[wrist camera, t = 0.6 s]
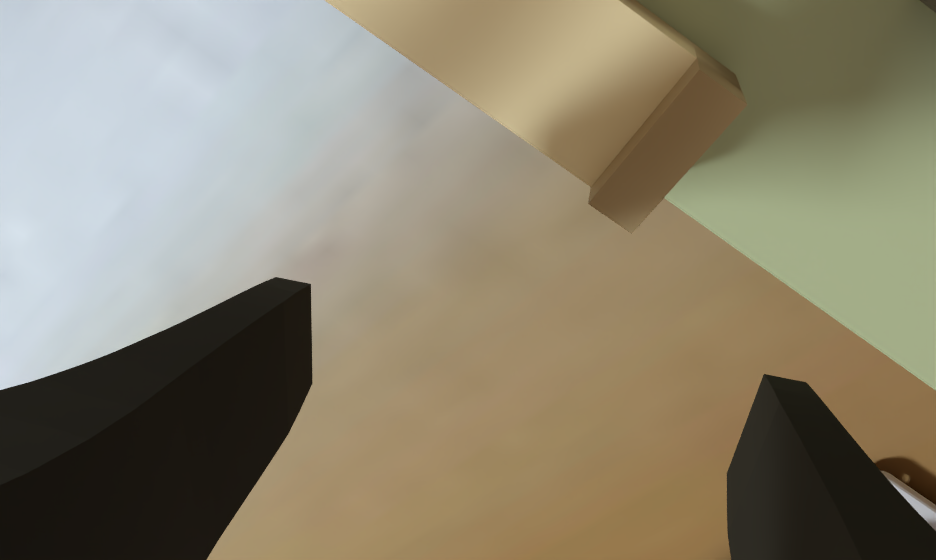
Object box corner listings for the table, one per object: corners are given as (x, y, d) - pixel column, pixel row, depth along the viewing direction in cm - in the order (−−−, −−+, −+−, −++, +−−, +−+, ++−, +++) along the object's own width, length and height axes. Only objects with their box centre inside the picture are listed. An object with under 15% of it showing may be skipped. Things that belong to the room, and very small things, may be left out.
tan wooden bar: (735, 74, 14) (747, 104, 12) (633, 191, 16) (631, 233, 14) (377, -192, 13) (336, -199, 11) (307, -38, 15) (262, -24, 13)
